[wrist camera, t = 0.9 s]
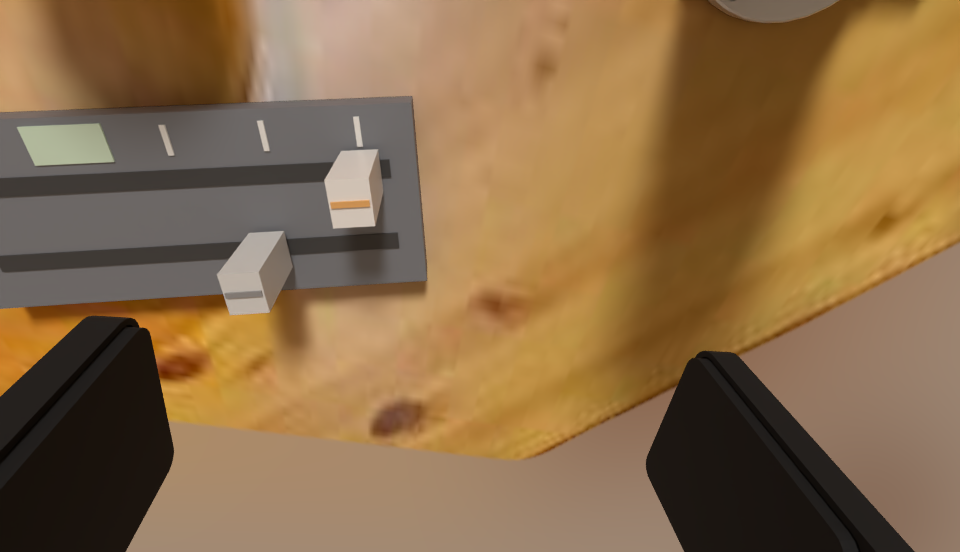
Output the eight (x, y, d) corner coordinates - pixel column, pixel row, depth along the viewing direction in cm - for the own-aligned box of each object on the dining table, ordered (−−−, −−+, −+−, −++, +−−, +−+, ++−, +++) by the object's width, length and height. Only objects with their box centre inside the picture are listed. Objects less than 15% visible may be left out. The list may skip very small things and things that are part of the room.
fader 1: (284, 230, 29) (257, 273, 24) (292, 266, 30) (269, 313, 25) (248, 232, 29) (215, 275, 24) (259, 269, 30) (229, 316, 25)
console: (412, 95, 28) (411, 102, 26) (427, 266, 33) (427, 281, 32) (-78, 115, 26) (-116, 124, 24) (21, 291, 32) (-3, 309, 30)
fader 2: (378, 149, 27) (368, 178, 22) (383, 191, 28) (375, 226, 24) (341, 150, 27) (323, 181, 22) (347, 192, 28) (332, 229, 24)
